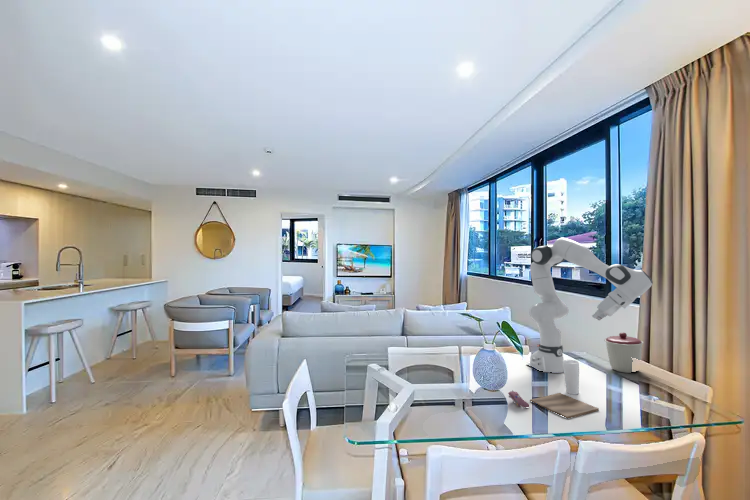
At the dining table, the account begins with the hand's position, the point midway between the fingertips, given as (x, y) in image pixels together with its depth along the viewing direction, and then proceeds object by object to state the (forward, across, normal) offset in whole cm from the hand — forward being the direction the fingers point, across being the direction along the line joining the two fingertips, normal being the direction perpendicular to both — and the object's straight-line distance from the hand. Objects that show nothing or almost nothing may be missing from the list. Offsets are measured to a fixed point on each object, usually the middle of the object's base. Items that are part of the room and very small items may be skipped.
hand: (595, 318), depth 176 cm
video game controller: (+49, +28, +13) cm, 57 cm away
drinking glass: (+32, +1, +19) cm, 38 cm away
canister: (+13, -48, +21) cm, 54 cm away
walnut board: (+35, +19, +22) cm, 46 cm away
